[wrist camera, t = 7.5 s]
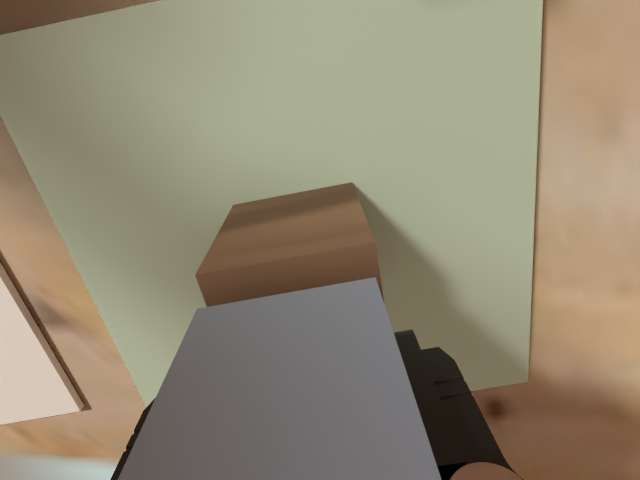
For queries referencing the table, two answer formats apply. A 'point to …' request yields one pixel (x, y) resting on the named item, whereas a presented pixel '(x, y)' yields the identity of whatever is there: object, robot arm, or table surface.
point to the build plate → (291, 154)
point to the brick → (287, 395)
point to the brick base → (289, 246)
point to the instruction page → (28, 365)
